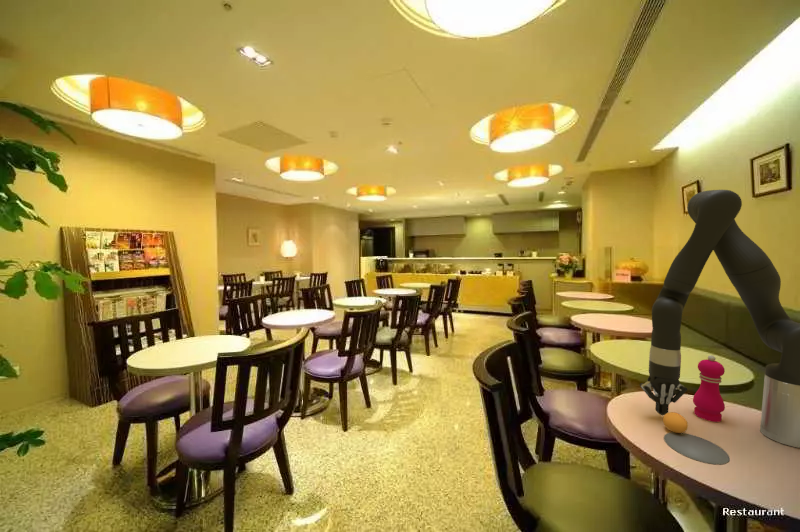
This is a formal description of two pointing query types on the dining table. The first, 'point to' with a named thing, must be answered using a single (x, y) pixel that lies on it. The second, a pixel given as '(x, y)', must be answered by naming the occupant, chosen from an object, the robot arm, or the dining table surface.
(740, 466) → the dining table surface
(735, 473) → the dining table surface
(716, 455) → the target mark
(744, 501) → the dining table surface
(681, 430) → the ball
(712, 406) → the pepper mill
